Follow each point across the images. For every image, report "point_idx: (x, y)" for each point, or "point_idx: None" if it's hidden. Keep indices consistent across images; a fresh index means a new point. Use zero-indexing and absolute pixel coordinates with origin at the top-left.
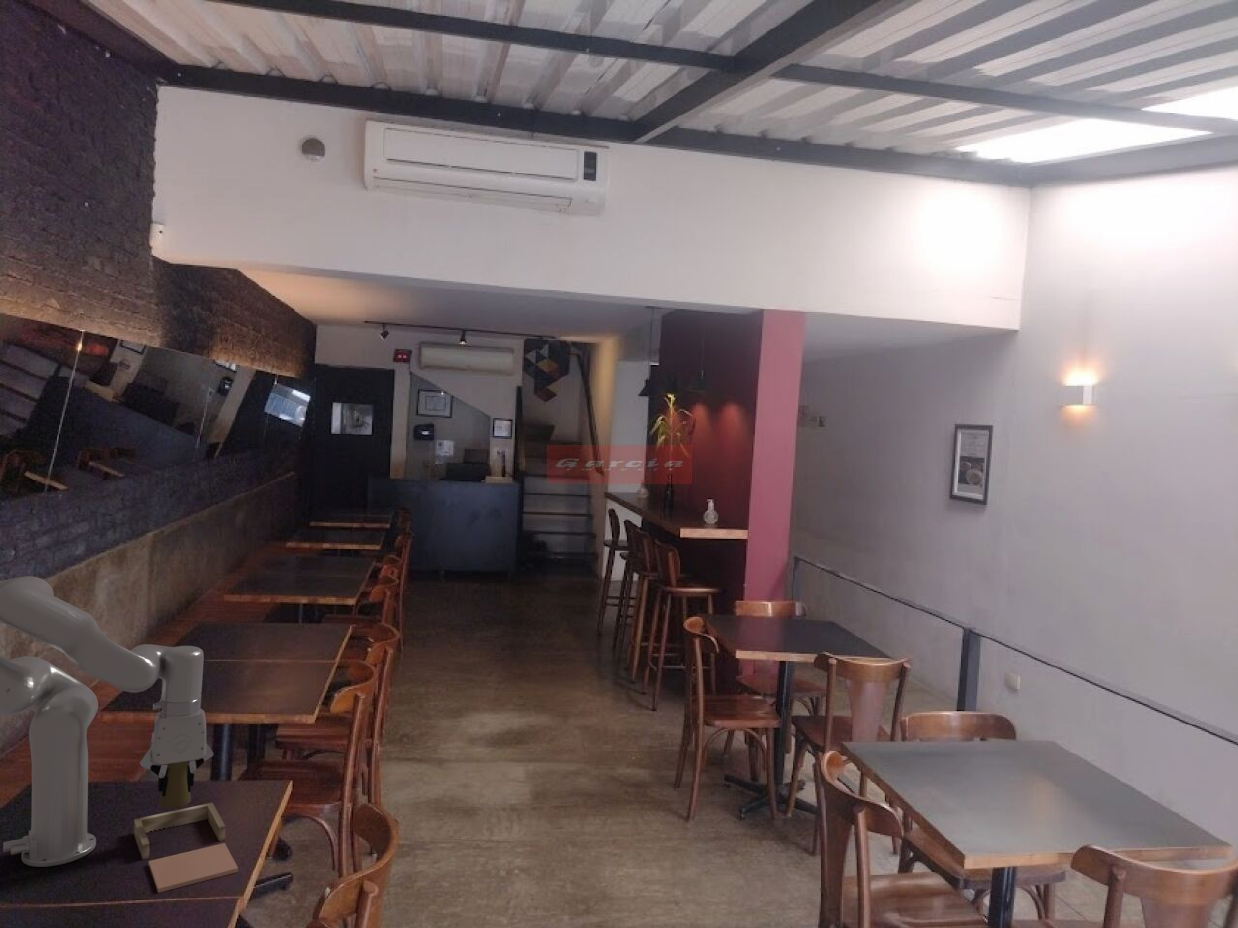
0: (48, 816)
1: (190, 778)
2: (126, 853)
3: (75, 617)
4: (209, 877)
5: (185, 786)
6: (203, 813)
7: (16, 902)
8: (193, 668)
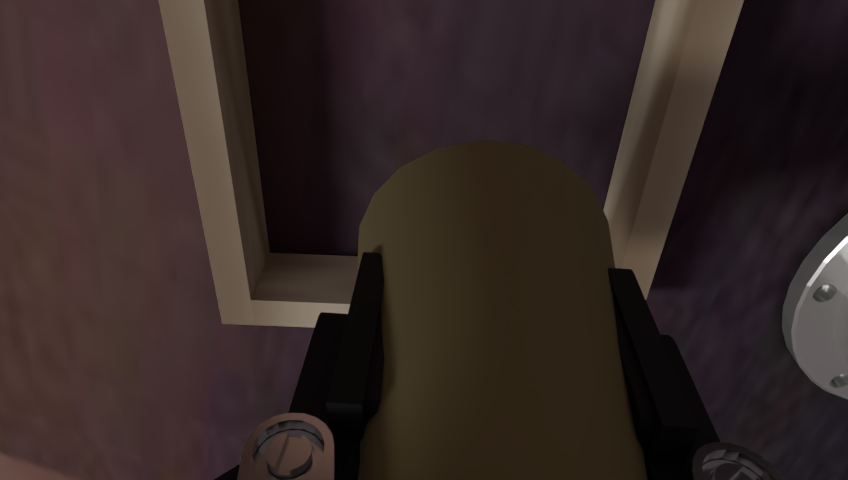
0: None
1: (345, 352)
2: (738, 86)
3: None
4: None
5: (414, 279)
6: (282, 274)
7: None
8: None
